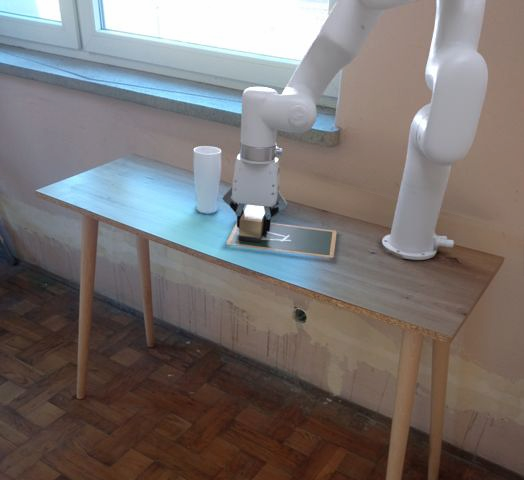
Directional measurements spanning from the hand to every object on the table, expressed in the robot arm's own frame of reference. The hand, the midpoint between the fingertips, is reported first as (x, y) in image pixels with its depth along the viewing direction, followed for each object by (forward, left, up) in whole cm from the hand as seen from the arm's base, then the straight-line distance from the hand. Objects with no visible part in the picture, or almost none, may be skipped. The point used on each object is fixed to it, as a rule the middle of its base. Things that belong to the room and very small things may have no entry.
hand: (253, 231), depth 129 cm
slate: (-7, 0, -1) cm, 7 cm away
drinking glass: (+14, -12, -2) cm, 19 cm away
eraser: (0, 0, 0) cm, 0 cm away
